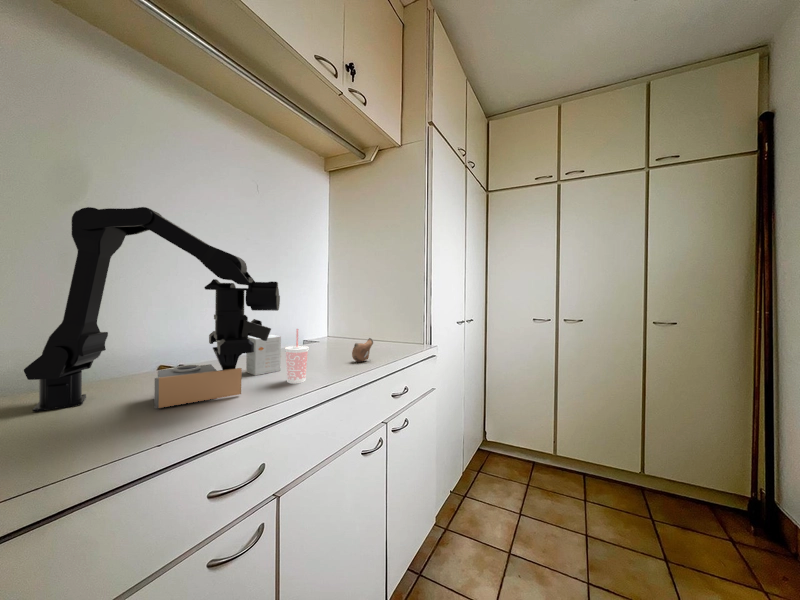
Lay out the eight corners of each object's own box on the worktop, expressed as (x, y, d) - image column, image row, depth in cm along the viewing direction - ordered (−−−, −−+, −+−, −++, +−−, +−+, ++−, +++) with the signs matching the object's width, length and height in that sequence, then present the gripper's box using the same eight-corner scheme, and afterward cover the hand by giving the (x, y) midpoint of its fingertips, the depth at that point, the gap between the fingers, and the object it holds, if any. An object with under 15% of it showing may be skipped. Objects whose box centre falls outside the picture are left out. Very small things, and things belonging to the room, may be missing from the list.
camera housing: (157, 397, 67) (157, 367, 66) (210, 389, 73) (211, 361, 73) (159, 408, 60) (159, 375, 60) (217, 398, 67) (217, 368, 67)
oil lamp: (369, 358, 112) (370, 337, 112) (376, 360, 109) (377, 338, 109) (349, 362, 106) (350, 339, 105) (356, 364, 103) (357, 340, 103)
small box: (271, 367, 95) (272, 334, 95) (281, 370, 92) (281, 336, 92) (245, 372, 89) (246, 336, 89) (254, 376, 86) (255, 338, 85)
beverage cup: (279, 382, 80) (279, 329, 80) (294, 376, 86) (295, 327, 85) (298, 385, 78) (299, 330, 77) (313, 379, 83) (314, 328, 83)
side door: (154, 407, 60) (154, 377, 60) (240, 393, 69) (240, 367, 69) (154, 408, 59) (154, 379, 59) (241, 394, 69) (241, 368, 68)
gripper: (279, 312, 66) (278, 383, 67) (258, 307, 81) (257, 366, 81) (220, 313, 60) (220, 392, 60) (208, 308, 74) (208, 371, 75)
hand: (229, 379), depth 69 cm, fingers closed
